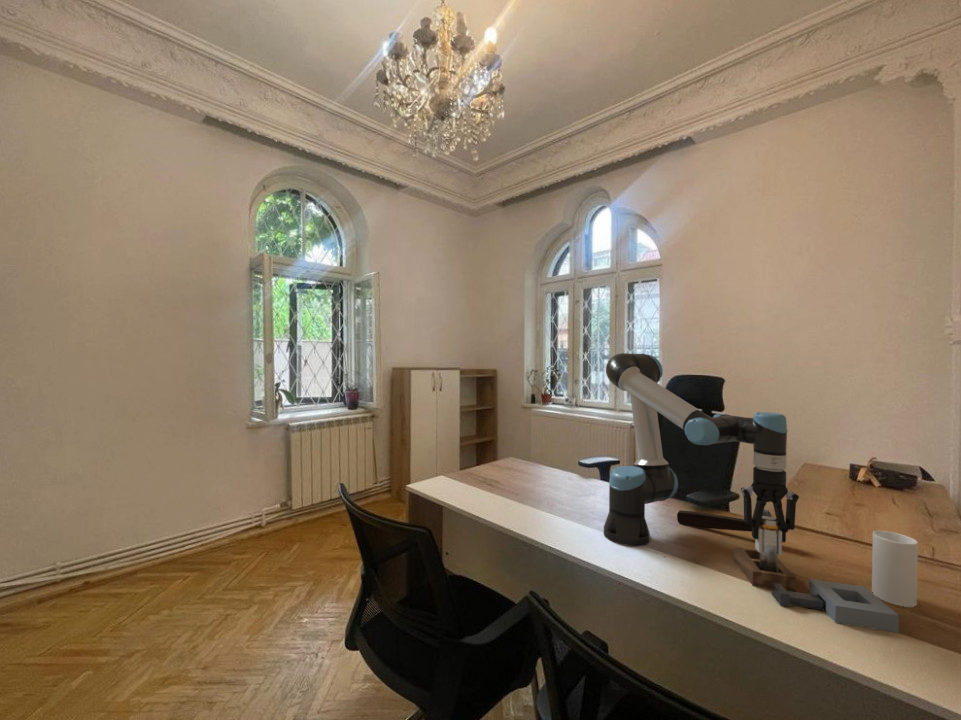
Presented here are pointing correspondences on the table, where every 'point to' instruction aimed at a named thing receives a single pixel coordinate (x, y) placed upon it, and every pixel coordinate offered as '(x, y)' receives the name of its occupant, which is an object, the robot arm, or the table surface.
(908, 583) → the cup
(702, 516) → the hammer
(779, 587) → the dark grey t-shaped block
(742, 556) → the rack
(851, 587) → the socket block
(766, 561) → the rod
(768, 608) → the table surface
